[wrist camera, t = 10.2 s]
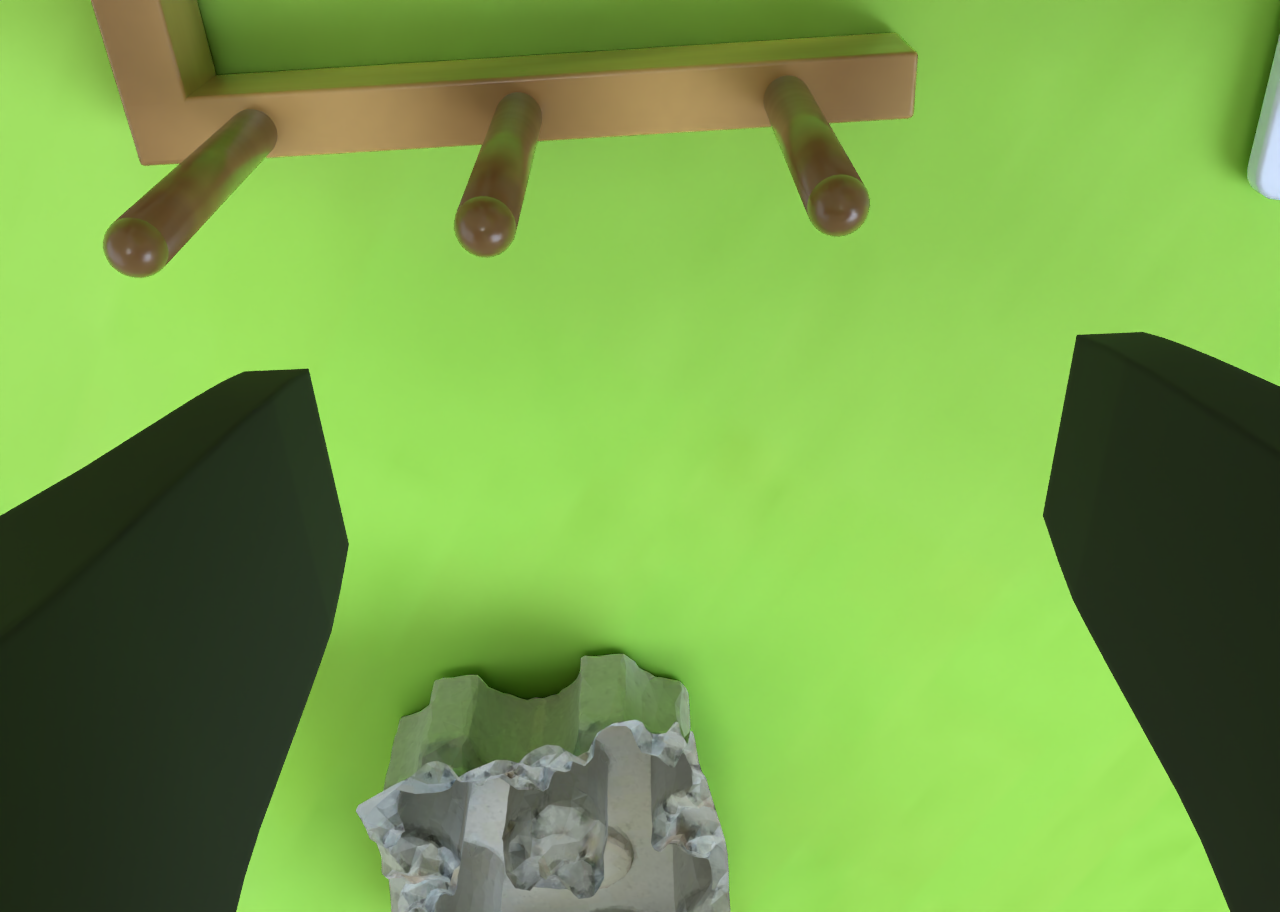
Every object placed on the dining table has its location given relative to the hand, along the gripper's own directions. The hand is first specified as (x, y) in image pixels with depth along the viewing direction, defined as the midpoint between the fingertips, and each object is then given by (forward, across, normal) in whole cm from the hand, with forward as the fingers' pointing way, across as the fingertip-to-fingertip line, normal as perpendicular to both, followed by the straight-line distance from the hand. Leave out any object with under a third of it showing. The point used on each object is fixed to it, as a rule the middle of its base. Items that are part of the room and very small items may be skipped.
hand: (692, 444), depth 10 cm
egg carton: (+10, +3, +16) cm, 19 cm away
